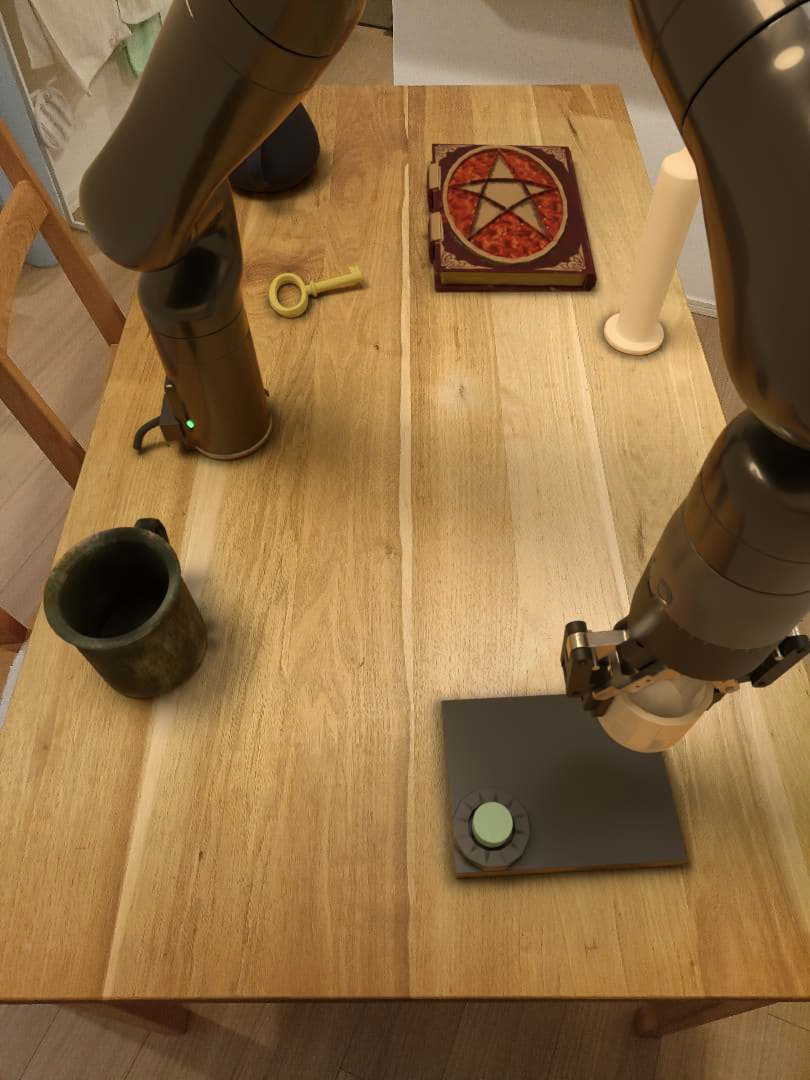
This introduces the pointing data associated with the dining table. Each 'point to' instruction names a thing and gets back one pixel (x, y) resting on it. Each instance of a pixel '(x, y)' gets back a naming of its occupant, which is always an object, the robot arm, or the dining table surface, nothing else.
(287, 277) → the key
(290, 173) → the teapot
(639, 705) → the beige cup
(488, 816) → the button
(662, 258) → the candle
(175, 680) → the mug
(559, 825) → the scale
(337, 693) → the dining table surface
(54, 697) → the dining table surface
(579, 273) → the book
